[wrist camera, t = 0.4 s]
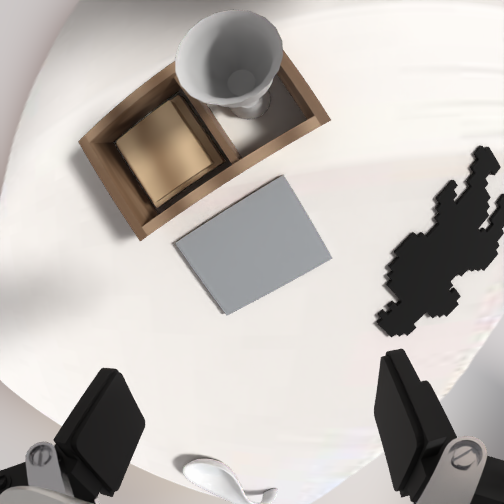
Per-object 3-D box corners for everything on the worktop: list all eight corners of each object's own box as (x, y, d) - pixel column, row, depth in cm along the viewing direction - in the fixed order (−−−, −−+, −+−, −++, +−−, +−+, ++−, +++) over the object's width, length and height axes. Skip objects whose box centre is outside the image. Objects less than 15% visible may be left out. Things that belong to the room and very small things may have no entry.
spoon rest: (176, 461, 57) (169, 485, 50) (203, 444, 53) (197, 471, 47) (257, 496, 60) (255, 518, 53) (289, 482, 57) (289, 506, 50)
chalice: (251, 139, 35) (231, 126, 18) (208, 105, 34) (154, 70, 17) (290, 94, 33) (305, 45, 16) (246, 61, 32) (225, -6, 15)
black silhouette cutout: (481, 141, 33) (344, 289, 41) (485, 141, 32) (345, 292, 40) (524, 220, 35) (404, 349, 43) (527, 221, 34) (406, 352, 43)
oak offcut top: (174, 102, 33) (169, 99, 31) (214, 163, 35) (210, 163, 33) (123, 141, 34) (116, 141, 33) (160, 200, 37) (154, 202, 35)
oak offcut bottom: (184, 97, 35) (178, 94, 32) (226, 161, 37) (223, 161, 35) (124, 143, 37) (115, 143, 35) (163, 204, 39) (156, 208, 37)
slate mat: (283, 174, 36) (283, 175, 36) (331, 256, 39) (332, 258, 38) (176, 241, 40) (175, 243, 39) (227, 312, 43) (226, 315, 42)
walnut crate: (257, 32, 31) (254, 13, 25) (322, 125, 34) (331, 120, 29) (102, 141, 36) (78, 141, 31) (158, 228, 40) (140, 241, 34)
